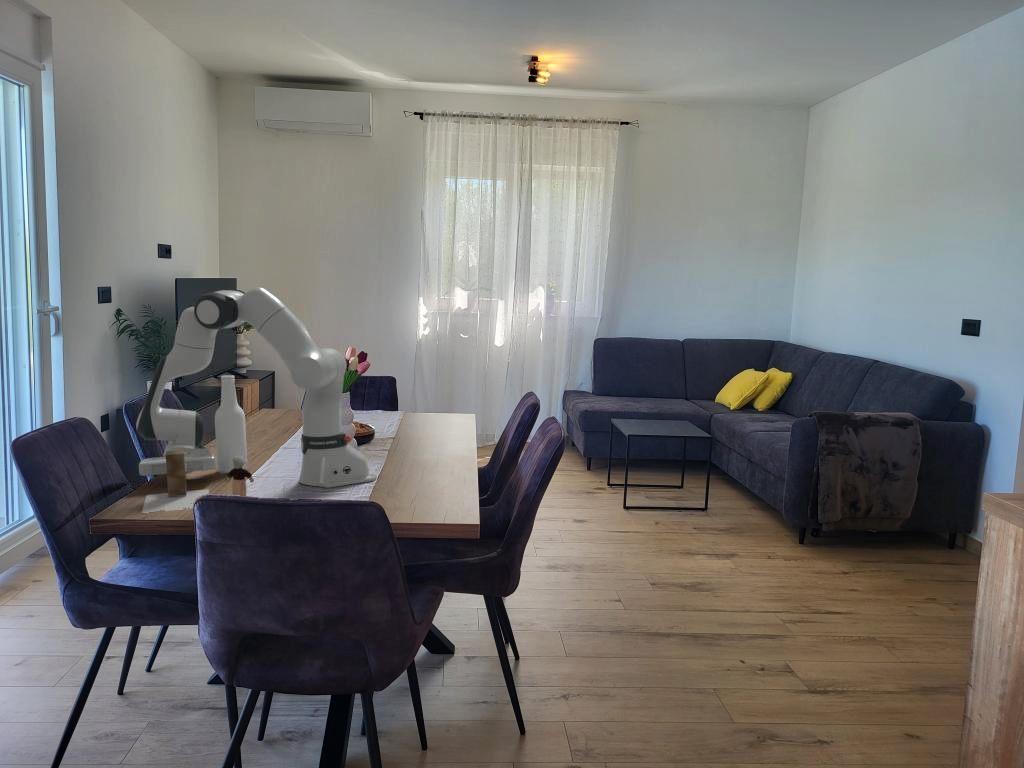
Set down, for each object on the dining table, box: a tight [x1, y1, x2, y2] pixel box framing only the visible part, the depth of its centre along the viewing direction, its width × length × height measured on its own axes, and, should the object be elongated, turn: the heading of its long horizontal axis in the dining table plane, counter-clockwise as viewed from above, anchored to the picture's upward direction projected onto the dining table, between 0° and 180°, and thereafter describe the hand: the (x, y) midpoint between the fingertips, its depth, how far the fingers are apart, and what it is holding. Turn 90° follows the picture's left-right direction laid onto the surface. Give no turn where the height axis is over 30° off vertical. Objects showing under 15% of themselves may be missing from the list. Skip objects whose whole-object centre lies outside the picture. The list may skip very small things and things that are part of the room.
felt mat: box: [141, 488, 210, 514], centre depth 207 cm, size 16×18×1 cm
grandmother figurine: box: [225, 456, 255, 497], centre depth 208 cm, size 8×4×13 cm, turn 95°
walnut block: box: [166, 450, 187, 498], centre depth 212 cm, size 4×4×12 cm
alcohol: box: [214, 374, 248, 475], centre depth 238 cm, size 9×9×30 cm
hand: (177, 470), depth 215 cm, fingers closed
